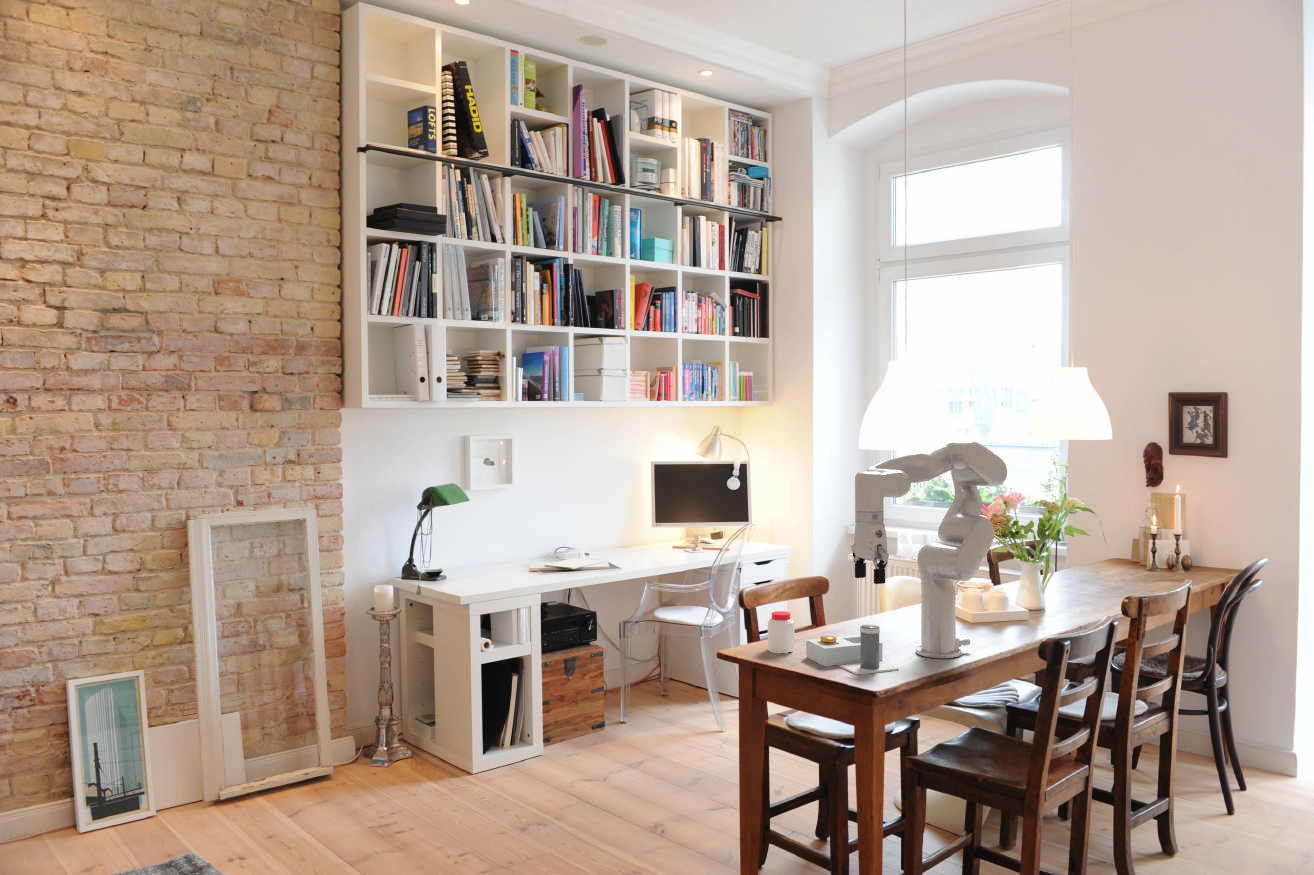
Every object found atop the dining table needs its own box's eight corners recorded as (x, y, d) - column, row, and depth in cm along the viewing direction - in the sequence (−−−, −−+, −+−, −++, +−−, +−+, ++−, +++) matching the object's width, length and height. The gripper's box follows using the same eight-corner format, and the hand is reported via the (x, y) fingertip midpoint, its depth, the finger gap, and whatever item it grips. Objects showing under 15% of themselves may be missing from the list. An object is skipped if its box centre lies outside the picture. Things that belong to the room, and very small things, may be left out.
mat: (881, 662, 281) (881, 661, 281) (898, 670, 273) (898, 668, 273) (840, 667, 277) (840, 665, 277) (856, 674, 269) (856, 673, 269)
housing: (862, 651, 294) (861, 634, 294) (882, 660, 284) (882, 642, 283) (806, 657, 288) (806, 639, 288) (825, 666, 278) (825, 648, 277)
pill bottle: (792, 647, 300) (791, 610, 300) (796, 653, 293) (796, 615, 292) (766, 647, 300) (765, 610, 300) (769, 653, 292) (769, 616, 292)
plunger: (831, 656, 287) (831, 635, 287) (839, 660, 283) (839, 638, 283) (817, 657, 285) (817, 636, 285) (825, 661, 281) (825, 639, 281)
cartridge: (873, 664, 278) (873, 624, 278) (883, 668, 273) (883, 628, 273) (856, 665, 276) (856, 625, 276) (866, 670, 271) (866, 629, 271)
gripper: (899, 520, 267) (899, 585, 267) (864, 513, 283) (865, 574, 283) (874, 521, 264) (874, 587, 265) (841, 515, 280) (841, 576, 281)
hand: (869, 580), depth 274 cm, fingers open, 9 cm apart
